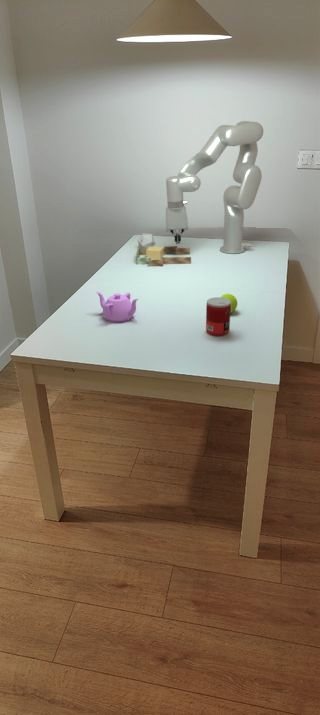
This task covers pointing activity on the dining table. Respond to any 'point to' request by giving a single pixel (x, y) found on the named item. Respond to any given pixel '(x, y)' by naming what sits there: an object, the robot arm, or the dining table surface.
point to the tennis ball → (233, 301)
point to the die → (146, 241)
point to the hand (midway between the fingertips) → (178, 243)
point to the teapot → (118, 307)
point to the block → (155, 252)
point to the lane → (165, 260)
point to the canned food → (218, 316)
